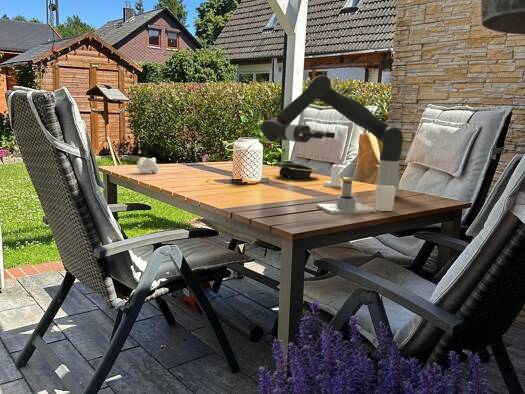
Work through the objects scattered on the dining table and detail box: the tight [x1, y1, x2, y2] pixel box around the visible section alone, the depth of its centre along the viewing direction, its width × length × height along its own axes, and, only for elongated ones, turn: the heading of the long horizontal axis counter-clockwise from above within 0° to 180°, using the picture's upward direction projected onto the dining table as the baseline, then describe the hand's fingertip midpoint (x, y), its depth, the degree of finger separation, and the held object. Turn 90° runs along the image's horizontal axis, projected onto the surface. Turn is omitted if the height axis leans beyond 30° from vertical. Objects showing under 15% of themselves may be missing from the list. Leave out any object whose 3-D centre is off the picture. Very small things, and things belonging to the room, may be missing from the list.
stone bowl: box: [276, 160, 318, 180], centre depth 290 cm, size 25×25×9 cm
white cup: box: [375, 184, 396, 212], centre depth 203 cm, size 8×8×10 cm
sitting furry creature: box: [322, 164, 342, 188], centre depth 261 cm, size 10×9×12 cm
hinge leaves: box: [316, 195, 377, 215], centre depth 202 cm, size 20×14×5 cm
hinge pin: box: [341, 176, 354, 199], centre depth 201 cm, size 5×5×12 cm
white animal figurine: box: [137, 157, 159, 175], centre depth 285 cm, size 11×12×9 cm
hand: (328, 135), depth 205 cm, fingers open, 8 cm apart
